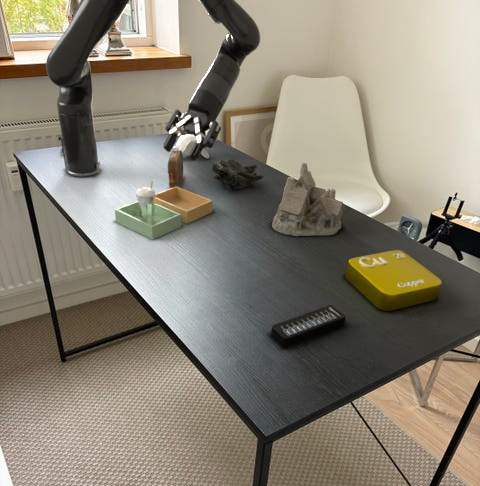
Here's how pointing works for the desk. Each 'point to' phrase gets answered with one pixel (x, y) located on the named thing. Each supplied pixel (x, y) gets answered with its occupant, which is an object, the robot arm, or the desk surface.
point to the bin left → (162, 223)
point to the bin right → (184, 203)
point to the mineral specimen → (235, 174)
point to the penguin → (189, 145)
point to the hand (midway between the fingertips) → (178, 154)
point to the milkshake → (146, 204)
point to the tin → (175, 168)
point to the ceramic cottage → (308, 208)
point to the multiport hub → (307, 326)
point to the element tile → (392, 280)
